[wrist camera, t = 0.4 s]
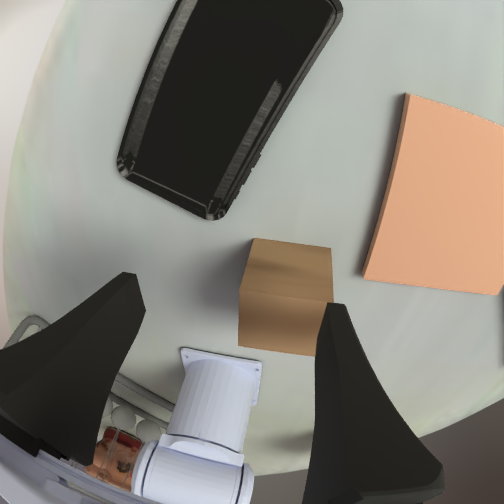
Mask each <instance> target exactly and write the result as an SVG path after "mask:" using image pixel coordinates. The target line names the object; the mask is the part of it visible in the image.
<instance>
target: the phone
mask: <svg viewBox="0 0 504 504" xmlns="http://www.w3.org/2000/svg"><path fill="white" fill-rule="evenodd" d="M342 17H343V7H342V4H341V2H340V1H339V0H177V2H176V4H175V6H174V8H173V10H172V12H171V14H170V16H169V18H168V20H167V23H166V25H165V27H164V29H163V31H162V33H161V36H160V38H159V40H158V42H157V45H156V47H155V49H154V52H153V54H152V57H151V59H150V61H149V64H148V66H147V69H146V72H145V74H144V77H143V79H142V82H141V85H140V87H139V90H138V93H137V96H136V99H135V101H134V104H133V107H132V110H131V113H130V116H129V119H128V123H127V126H126V129H125V132H124V136H123V139H122V142H121V146H120V149H119V153H118V157H117V167H118V170H119V172H120V174H121V175H122V176H123V177H124V178H126V179H127V180H129V181H131V182H133V183H135V184H137V185H138V186H140V187H142V188H144V189H146V190H148V191H150V192H152V193H154V194H156V195H158V196H160V197H162V198H164V199H166V200H168V201H170V202H172V203H174V204H176V205H178V206H180V207H182V208H184V209H185V210H187V211H189V212H191V213H193V214H195V215H197V216H199V217H201V218H203V219H206V220H212V221H214V220H219V219H221V218H222V217H224V216H225V214H226V213H227V211H228V210H229V208H230V206H231V204H232V202H233V200H234V199H236V197H237V196H238V194H239V192H240V191H239V190H240V188H241V186H242V184H243V185H244V184H245V182H246V180H247V178H248V176H249V175H250V173H251V168H252V167H253V168H254V167H255V165H256V163H257V161H258V160H259V158H260V156H261V154H260V152H261V151H262V149H263V147H264V146H265V144H266V142H267V140H268V139H269V137H270V135H271V133H272V132H273V130H274V128H275V127H276V125H277V123H278V122H279V120H280V118H281V116H282V115H283V113H284V111H285V110H286V108H287V106H288V105H289V103H290V101H291V100H292V98H293V96H294V95H295V93H296V91H297V90H298V88H299V87H300V85H301V83H302V82H303V80H304V78H305V77H306V75H307V73H308V72H309V70H310V69H311V67H312V65H313V64H314V62H315V61H316V59H317V57H318V56H319V54H320V53H321V51H322V49H323V48H324V46H325V45H326V43H327V42H328V40H329V39H330V37H331V35H332V34H333V32H334V31H335V29H336V28H337V26H338V25H339V23H340V22H341V19H342Z"/></svg>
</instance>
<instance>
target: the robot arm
mask: <svg viewBox="0 0 504 504" xmlns="http://www.w3.org/2000/svg"><path fill="white" fill-rule="evenodd" d="M145 312H146V309H145V306H144V302H143V299H142V295H141V291H140V287H139V283H138V279H137V275H136V274H132V273H127V272H122V273H121V274H119V275H118V276H116V277H115V278H114V279H112V280H111V281H110V282H108V283H107V284H106V285H105V286H103V287H102V288H101V289H99V290H98V291H97V292H96V293H94V294H93V295H92V296H90V297H89V298H88V299H86V300H85V301H84V302H83V303H81V304H80V305H78V306H77V307H76V308H74V309H73V310H71V311H70V312H69V313H67V314H66V315H65V316H63V317H62V318H60V319H59V320H57V321H56V322H54V323H53V324H51V325H49V326H48V327H46V328H44V329H43V330H41V331H39V332H37V333H35V334H33V335H32V336H30V337H28V338H26V339H24V340H22V341H20V342H18V343H16V344H13V345H11V346H9V347H6V348H4V349H1V350H0V495H1V496H2V497H3V498H4V499H5V500H6V501H7V502H8V503H9V504H102V503H100V502H98V501H95V500H94V499H91V498H89V497H87V496H85V495H83V494H81V493H79V492H77V491H75V490H72V489H70V488H69V487H68V484H67V482H66V480H67V481H69V482H71V483H72V484H74V485H76V486H78V487H80V488H82V489H84V490H86V491H88V492H91V493H93V494H95V495H97V496H99V497H101V498H104V499H106V500H108V501H111V502H113V503H115V504H249V503H250V499H251V495H252V490H253V484H254V471H253V470H252V468H251V467H250V465H249V464H247V463H243V460H244V454H242V449H243V445H244V440H245V435H246V430H247V425H248V420H249V415H250V410H251V406H255V405H257V400H258V393H259V385H260V378H261V370H262V363H261V362H259V361H254V360H247V359H241V358H235V357H230V356H224V355H219V354H213V353H208V352H203V351H198V350H193V349H188V348H182V349H181V357H182V361H183V365H184V369H185V373H186V376H185V379H184V381H183V384H182V387H181V390H180V393H179V396H178V399H177V402H176V405H175V408H174V411H173V413H172V416H171V419H170V422H169V425H168V428H167V431H166V434H164V433H162V434H161V436H160V439H159V441H158V440H156V439H152V440H151V441H149V442H147V443H146V444H145V445H144V446H143V447H142V449H141V451H140V453H139V455H138V458H137V460H136V463H135V466H134V470H133V474H132V480H131V493H130V492H128V491H125V490H123V489H120V488H118V487H115V486H113V485H110V484H108V483H106V482H103V481H101V480H99V479H96V478H94V477H92V476H90V475H88V474H86V473H84V472H81V471H80V470H78V469H76V468H74V467H72V466H70V465H68V464H66V463H64V462H62V461H60V458H61V457H62V458H64V459H66V460H67V461H68V460H69V459H72V460H74V461H76V462H78V463H80V464H82V465H84V466H89V465H91V464H93V460H94V453H95V447H96V441H97V436H98V432H99V428H100V423H101V419H102V416H103V412H104V409H105V405H106V402H107V399H108V396H109V393H110V390H111V387H112V385H113V382H114V380H115V378H116V375H117V373H118V371H119V369H120V367H121V365H122V363H123V361H124V359H125V357H126V355H127V353H128V351H129V350H130V348H131V346H132V344H133V342H134V340H135V338H136V336H137V334H138V331H139V329H140V326H141V323H142V320H143V318H144V315H145ZM444 491H445V478H444V471H443V466H442V464H441V463H440V462H439V461H438V460H437V459H436V458H435V457H434V456H433V455H432V454H431V453H430V452H429V450H427V448H426V447H425V446H424V445H423V444H422V442H421V441H420V440H419V439H418V438H417V437H416V435H415V434H414V433H413V432H412V430H411V429H410V428H409V426H408V425H407V423H406V422H405V421H404V419H403V418H402V417H401V415H400V414H399V413H398V411H397V410H396V408H395V407H394V405H393V404H392V402H391V401H390V399H389V397H388V396H387V394H386V392H385V391H384V389H383V387H382V386H381V384H380V382H379V380H378V379H377V377H376V375H375V373H374V371H373V369H372V367H371V365H370V363H369V361H368V359H367V357H366V355H365V352H364V350H363V348H362V346H361V344H360V341H359V339H358V337H357V334H356V332H355V329H354V327H353V324H352V322H351V319H350V316H349V314H348V311H347V308H346V306H345V305H344V304H339V303H330V302H327V305H326V309H325V312H324V316H323V319H322V323H321V326H320V330H319V333H318V336H317V342H316V354H315V426H314V435H313V443H312V450H311V457H310V463H309V470H308V475H307V481H306V486H305V492H304V496H303V501H302V504H423V502H424V501H427V500H430V499H432V498H435V497H437V496H439V495H441V494H442V493H443V492H444Z"/></svg>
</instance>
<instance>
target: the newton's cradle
mask: <svg viewBox="0 0 504 504" xmlns="http://www.w3.org/2000/svg"><path fill="white" fill-rule="evenodd" d="M34 324H35V325H38V326H39V331H41V330H42V329H44V328H46V327H48V326H49V325H50V324H48V323H47V322H46V321H45V320H43V319H42V318H40V317H37V316H29V317H27V318H25V319H24V320H23V321H22V322H21V323H20V325H19V326H18V327H17V329H16V330H15V332H14V333H13V334H12V336H11V337H10V339H9V340H8V342H7V343H6V345H5V346H4V348H6V347H9V346H11V345H13V344H16V343H17V342H18V341H19V339H20V338H21V336H22V335H23V334H24V332H25V331H26V329H27V328H28V327H29V326H30V325H34ZM39 331H38V332H39ZM4 348H3V349H4ZM115 380H116V381H118V382H119V383H121V384H123V385H124V386H126V387H128V388H129V389H131V390H133V391H135V392H136V393H138V394H140V395H142V396H143V397H145V398H147V399H149V400H151V401H152V402H154V403H156V404H158V405H160V406H162V407H164V408H166V409H167V410H169V411H171V412H173V411H174V408H175V405H174V404H172V403H170V402H168V401H166V400H164V399H163V398H161V397H159V396H157V395H155V394H153V393H152V392H150V391H148V390H146V389H145V388H143V387H141V386H139V385H138V384H136V383H134V382H133V381H131V380H129V379H128V378H126V377H124V376H123V375H121V374H119V373H117V375H116V378H115ZM111 400H112V401H114V402H115V403H117V404H119V405H120V406H118V407H116V408H115V409H114V410H113V403H112V401H111ZM112 410H113V411H112ZM111 412H112V413H111ZM110 413H111V420H112V423H113V424H114V426H115V427H117V429H118V430H117V432H118V433H117V432H116V434H117V436H116V434H115V436H116V439H115V436H114V438H113V440H112V443H113V441H114V439H115V442H114V445H113V448H112V451H111V454H110V457H109V460H108V463H107V466H106V470H107V467H108V464H109V461H110V458H111V455H112V452H113V449H114V446H115V443H116V440H117V437H118V434H119V431H120V430H129V429H131V428H132V427H133V426H134V425H135V422H136V416H135V414H137V415H139V416H141V417H142V418H144V419H145V420H142V421H140V422H139V423H138V425H137V427H136V433H137V436H138V437H139V438H140V439H141V440H142V444H141V447H142V445H143V443H144V445H145V443H146V442H149V441H151V440H152V439H156V440H158V439H159V437H160V435H161V430H160V427H162V428H164V429H166V430H167V428H168V425H169V424H168V423H166V422H164V421H162V420H160V419H158V418H156V417H154V416H152V415H150V414H148V413H146V412H144V411H142V410H141V409H139V408H137V407H135V406H133V405H131V404H130V403H128V402H126V401H124V400H123V399H121V398H119V397H117V396H116V395H114V394H112V393H111V392H110V393H109V396H108V399H107V402H106V405H105V409H104V412H103V416H102V417H107V416H108V415H110ZM134 413H135V414H134ZM159 426H160V427H159ZM112 443H111V445H112ZM111 445H110V447H111ZM144 445H143V446H144ZM110 447H109V449H108V451H107V454H108V452H109V450H110ZM141 447H140V449H141ZM140 449H139V451H140ZM139 451H138V453H139ZM138 453H137V455H138ZM107 454H106V456H107ZM137 455H136V457H135V459H134V461H133V463H132V466H133V464H134V462H135V460H136V458H137ZM106 456H105V458H104V460H103V463H104V461H105V459H106ZM73 463H74V460H73ZM73 463H72V465H71V466H73ZM103 463H102V465H103ZM77 465H78V462H77V464H76V467H77ZM102 465H101V467H100V469H99V472H100V470H101V468H102ZM132 466H131V468H132ZM76 467H75V468H76ZM131 468H130V470H131ZM106 470H105V473H104V476H103V479H102V481H103V480H104V477H105V474H106ZM130 470H129V472H130ZM99 472H98V474H97V476H96V479H97V477H98V475H99ZM129 472H128V474H127V476H126V478H125V481H126V479H127V477H128V475H129ZM125 481H124V483H125ZM66 482H67V484H68V485H69V486H71V487H73V488H75V489H77V490H79V491H81V492H83V493H85V494H87V495H90V496H92V497H94V498H96V499H99V500H101V501H103V502H105V503H108V504H115V503H113V502H111V501H108V500H106V499H104V498H101V497H99V496H97V495H95V494H93V493H91V492H88V491H86V490H84V489H82V488H80V487H78V486H76V485H74V484H72V483H71V482H69V481H67V480H66ZM124 483H123V485H124ZM123 485H122V487H123ZM122 487H121V489H122ZM130 491H131V487H130V490H129V492H130Z"/></svg>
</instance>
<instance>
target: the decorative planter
mask: <svg viewBox="0 0 504 504" xmlns="http://www.w3.org/2000/svg"><path fill="white" fill-rule="evenodd" d="M116 432H117V429H114V428H107V429H106V430H105V432H104V435H103V439H102V440H101V441H99V442H98V443H97V444H96V447H95V453H94V460H93V464H91V465H89V466H84V469H85V471H86V472H87V473H88V474H89V475H90V476H92V477H94V478H96V476H97V474H98V472H99V469H100V467H101V465H102V463H103V460H104V458H105V456H106V454H107V451H108V449H109V447H110V445H111V443H112V440H113V438H114V436H115V434H116ZM117 433H118V432H117ZM116 436H117V434H116ZM116 436H115V439H116ZM115 439H114V441H113V443H112V445H111V447H110V450H109V452H108V454H107V456H106V459H105V461H104V463H103V465H102V468H101V470H100V472H99V475H98V477H97V479H99V480H101V481H102V479H103V476H104V473H105V470H106V466H107V463H108V460H109V457H110V454H111V451H112V448H113V445H114V442H115ZM141 444H142V441H140V440H139V439H137V438H135V437H133V436H131V435H129V434H127V433H124V432H122V431H119V434H118V437H117V440H116V443H115V446H114V449H113V452H112V455H111V458H110V461H109V464H108V467H107V470H106V474H105V477H104V480H103V482H106V483H108V484H110V485H113V486H115V487H118V488H120V489H121V487H122V485H123V483H124V481H125V478H126V476H127V474H128V472H129V470H130V468H131V466H132V463H133V461H134V459H135V457H136V455H137V453H138V451H139V449H140V447H141ZM143 445H144V443H143ZM143 445H142V447H143ZM142 447H141V449H142ZM141 449H140V451H141ZM140 451H139V453H140ZM139 453H138V455H139ZM138 455H137V458H138ZM137 458H136V460H137ZM136 460H135V462H134V464H133V466H132V468H131V470H130V472H129V475H128V477H127V479H126V481H125V483H124V485H123V487H122V489H123V490H125V491H128V492H129V490H130V487H131V480H132V474H133V470H134V466H135V463H136ZM130 492H131V491H130Z"/></svg>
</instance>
